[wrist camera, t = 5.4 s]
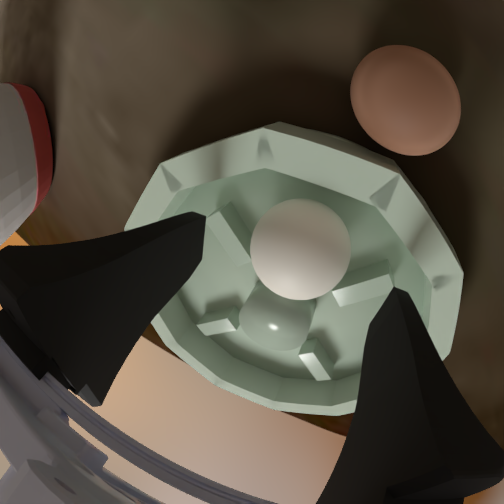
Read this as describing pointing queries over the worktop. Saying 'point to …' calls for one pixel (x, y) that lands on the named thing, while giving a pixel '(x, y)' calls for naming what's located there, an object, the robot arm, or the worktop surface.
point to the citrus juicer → (22, 156)
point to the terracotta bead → (405, 100)
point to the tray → (370, 238)
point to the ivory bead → (300, 249)
